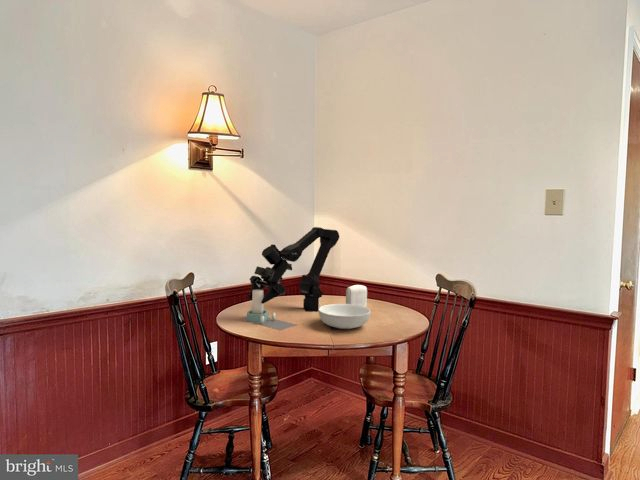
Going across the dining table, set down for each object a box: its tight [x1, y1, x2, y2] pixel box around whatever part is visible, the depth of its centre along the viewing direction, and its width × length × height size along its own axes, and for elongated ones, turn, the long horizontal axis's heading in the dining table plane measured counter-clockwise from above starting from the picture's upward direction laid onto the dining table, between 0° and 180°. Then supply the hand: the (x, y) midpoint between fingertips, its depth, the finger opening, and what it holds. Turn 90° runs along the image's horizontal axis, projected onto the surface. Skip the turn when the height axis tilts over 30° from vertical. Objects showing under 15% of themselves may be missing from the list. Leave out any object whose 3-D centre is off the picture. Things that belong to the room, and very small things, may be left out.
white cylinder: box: [251, 289, 265, 314], centre depth 182 cm, size 4×4×12 cm
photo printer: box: [345, 284, 368, 308], centre depth 199 cm, size 10×4×12 cm, turn 123°
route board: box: [239, 312, 297, 331], centre depth 179 cm, size 23×10×4 cm, turn 52°
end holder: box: [246, 309, 269, 323], centre depth 182 cm, size 9×9×3 cm
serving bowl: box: [317, 303, 371, 330], centre depth 177 cm, size 21×21×7 cm
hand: (255, 300), depth 181 cm, fingers open, 9 cm apart
